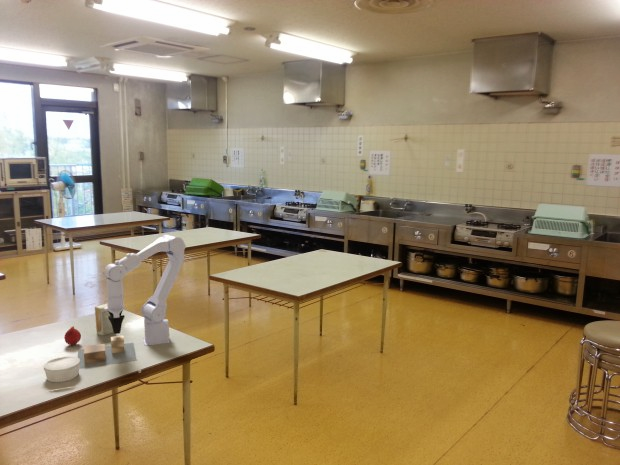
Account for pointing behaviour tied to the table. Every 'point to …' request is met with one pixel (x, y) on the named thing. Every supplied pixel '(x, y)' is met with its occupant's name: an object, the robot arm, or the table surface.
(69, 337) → the onion
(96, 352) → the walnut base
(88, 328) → the table surface
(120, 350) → the birch block
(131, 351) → the mat
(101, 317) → the skincare box
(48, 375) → the ramekin
